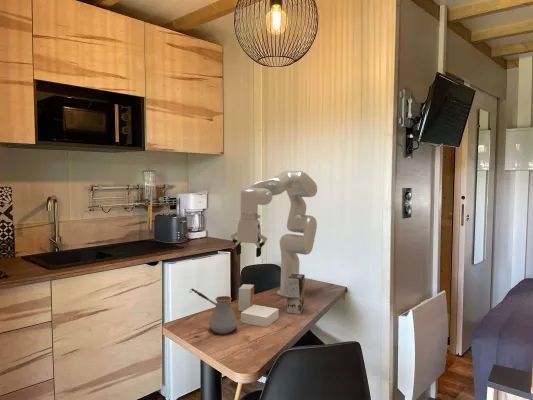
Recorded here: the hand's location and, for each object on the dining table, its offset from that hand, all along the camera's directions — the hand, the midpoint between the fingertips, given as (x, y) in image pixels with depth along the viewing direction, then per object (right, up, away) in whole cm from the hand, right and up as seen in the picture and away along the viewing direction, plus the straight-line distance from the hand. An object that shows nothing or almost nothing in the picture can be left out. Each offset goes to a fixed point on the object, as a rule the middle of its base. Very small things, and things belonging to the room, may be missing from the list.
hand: (248, 255), depth 177 cm
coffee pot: (-14, -27, -16) cm, 34 cm away
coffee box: (+21, -27, +7) cm, 35 cm away
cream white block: (+5, -27, -6) cm, 28 cm away
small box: (-1, -26, +8) cm, 27 cm away
